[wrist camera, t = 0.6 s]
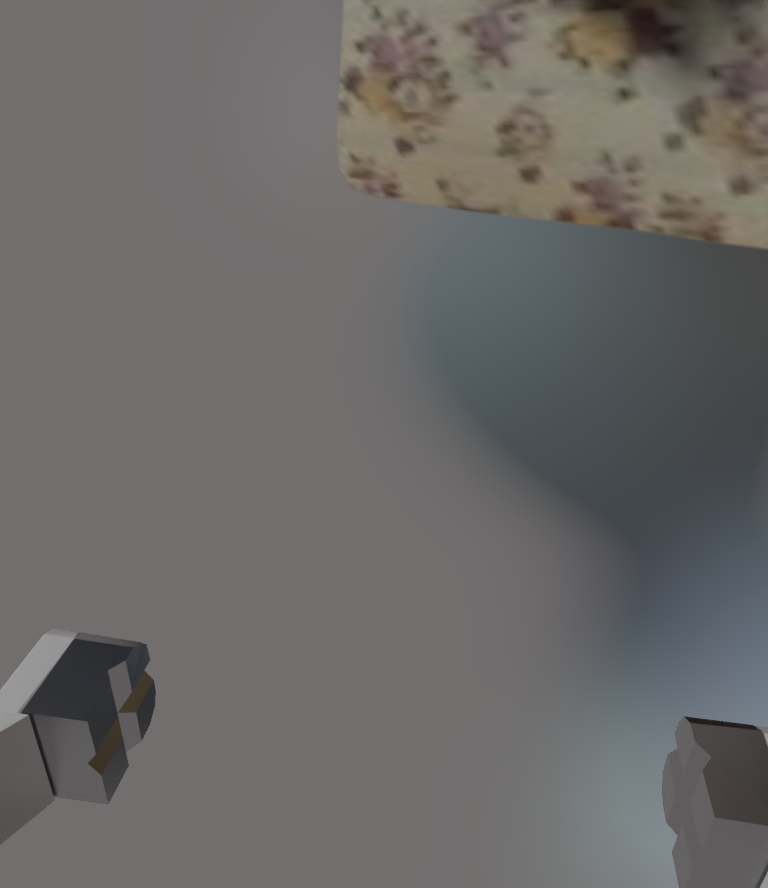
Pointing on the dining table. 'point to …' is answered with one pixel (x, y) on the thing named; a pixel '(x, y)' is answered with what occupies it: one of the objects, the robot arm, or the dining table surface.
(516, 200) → the dining table surface
